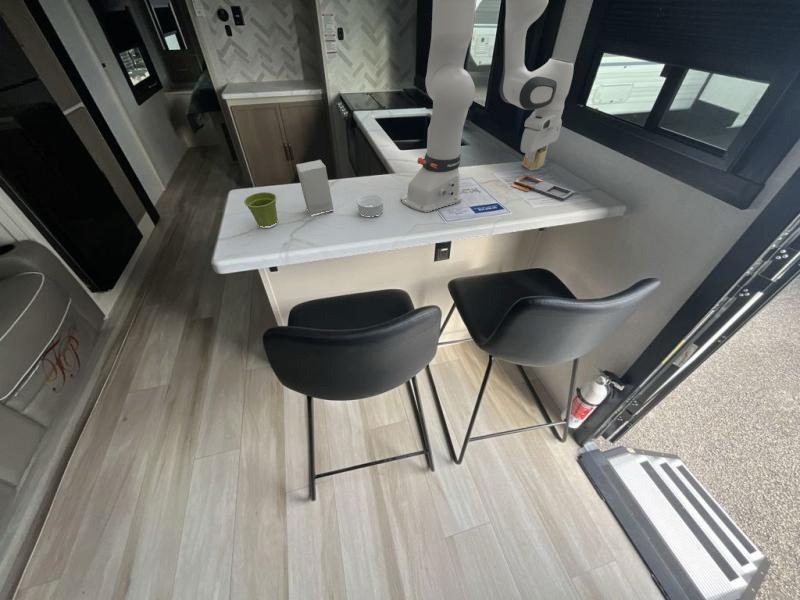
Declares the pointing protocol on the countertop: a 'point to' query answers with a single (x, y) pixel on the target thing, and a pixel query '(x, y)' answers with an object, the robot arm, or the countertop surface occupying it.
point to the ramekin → (370, 200)
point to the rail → (541, 187)
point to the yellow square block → (537, 158)
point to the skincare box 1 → (315, 186)
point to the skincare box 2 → (525, 163)
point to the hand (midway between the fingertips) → (535, 159)
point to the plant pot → (263, 208)
